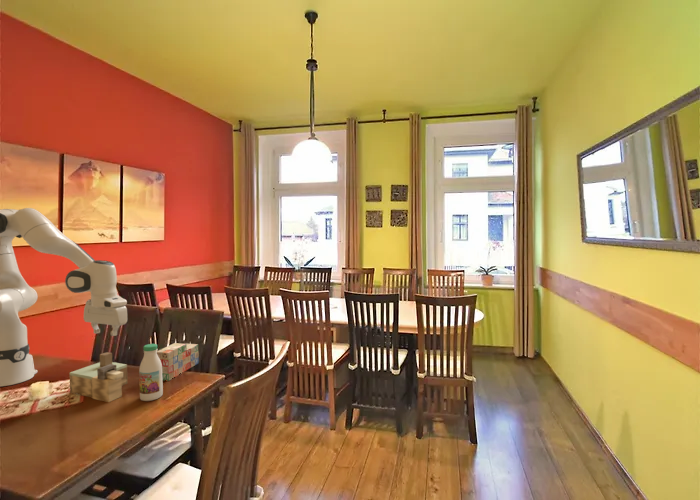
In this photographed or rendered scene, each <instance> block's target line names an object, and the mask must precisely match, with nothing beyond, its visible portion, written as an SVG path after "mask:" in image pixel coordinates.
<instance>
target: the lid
mask: <svg viewBox="0 0 700 500" xmlns="http://www.w3.org/2000/svg"><path fill="white" fill-rule="evenodd" d="M109 364H113V365H116V371H118V370H120V369H123V368H125V367H127V368H128V364H125V363H119V362H113V353H112V352H108V351H107V352H103V353H100V354H99V362H97V363H96V362H95V363H94V364H90V365H87V366H85V367H82V368H79V369H76V370H74V371H71V372H69V376H70V375H71V376H77V377H82V378H87V379H92V378H93V377H95V376H98V374H97V369H98V368H101V367H104V366H107V365H109Z"/></svg>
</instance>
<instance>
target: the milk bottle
mask: <svg viewBox="0 0 700 500" xmlns="http://www.w3.org/2000/svg"><path fill="white" fill-rule="evenodd" d="M157 351H158V344H156V343H148V344H145V345H143V353H144V354H143V358H142V360H141V362H140V364H139V371H138V374H139V376H138V377H139V378H138V379H139V381H138V383H139V385H138V386H139V399H140V401H143V402H150V401H155V400H157V399H159V398H161V397H162V396H163V393H164V389H163V388H164V385H163V384H164V383H163V381H164V380H163V378H162V363H161V361H160V359H159V357H158V355H157Z"/></svg>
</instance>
